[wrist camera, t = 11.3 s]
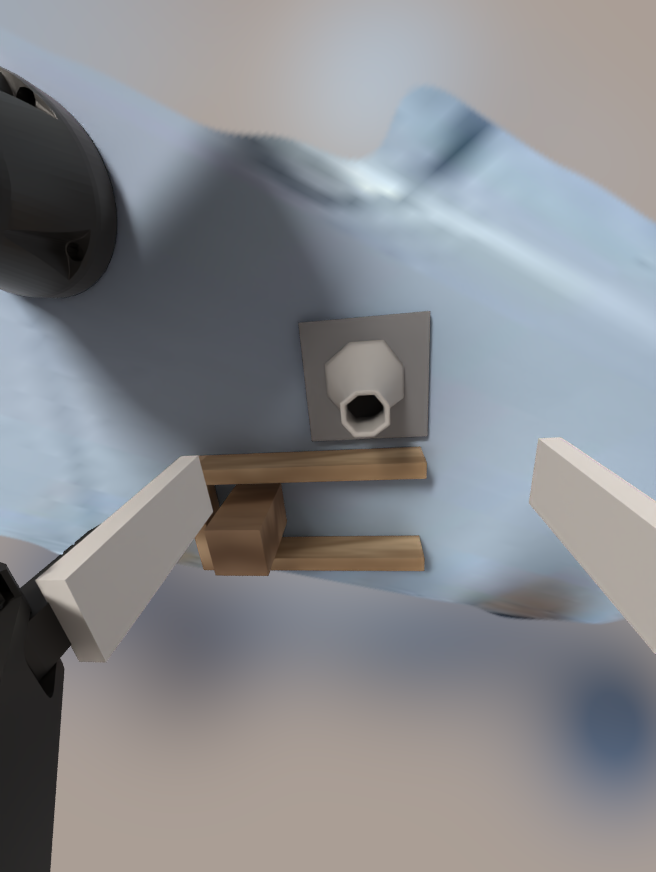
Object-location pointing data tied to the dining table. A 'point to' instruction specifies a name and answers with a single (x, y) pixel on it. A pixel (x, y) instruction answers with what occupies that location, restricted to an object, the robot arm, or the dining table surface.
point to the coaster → (397, 330)
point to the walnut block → (247, 530)
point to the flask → (365, 385)
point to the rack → (322, 468)
